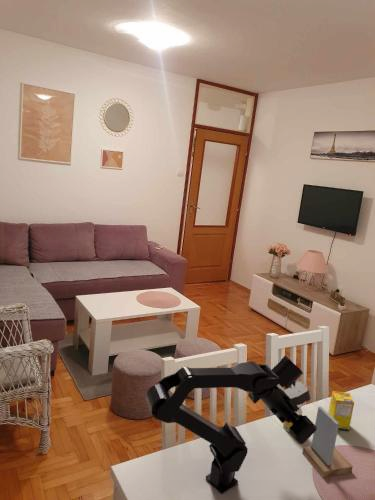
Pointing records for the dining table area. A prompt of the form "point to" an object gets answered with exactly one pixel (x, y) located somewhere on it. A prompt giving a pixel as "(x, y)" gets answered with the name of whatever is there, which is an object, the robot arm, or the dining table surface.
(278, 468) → the dining table surface
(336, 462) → the ticket block
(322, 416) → the grey rectangular panel
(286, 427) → the supplement bottle
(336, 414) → the supplement box
